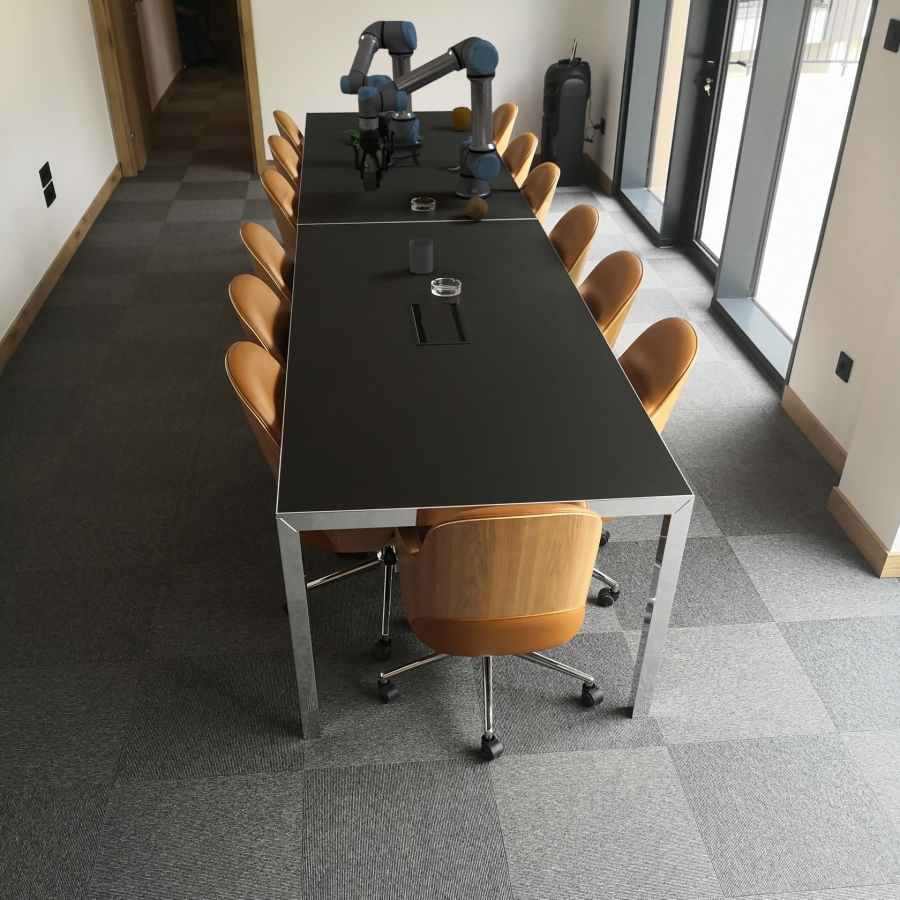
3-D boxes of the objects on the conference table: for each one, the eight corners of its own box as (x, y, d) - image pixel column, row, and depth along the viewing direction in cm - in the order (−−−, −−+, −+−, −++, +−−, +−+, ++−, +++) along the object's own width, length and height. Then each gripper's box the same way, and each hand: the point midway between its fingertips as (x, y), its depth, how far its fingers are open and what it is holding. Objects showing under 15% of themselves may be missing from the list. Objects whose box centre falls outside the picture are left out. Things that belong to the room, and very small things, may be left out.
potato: (486, 212, 363) (486, 193, 359) (489, 223, 352) (490, 203, 347) (463, 213, 363) (463, 194, 359) (465, 223, 351) (466, 204, 347)
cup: (409, 265, 311) (408, 238, 306) (432, 265, 312) (431, 238, 307) (410, 274, 304) (409, 246, 299) (433, 273, 305) (433, 246, 299)
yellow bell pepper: (471, 132, 486) (471, 108, 479) (451, 132, 486) (451, 108, 479) (470, 128, 495) (471, 104, 488) (452, 128, 495) (452, 104, 488)
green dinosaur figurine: (396, 126, 467) (340, 124, 465) (396, 141, 460) (339, 139, 458) (396, 136, 472) (341, 134, 470) (396, 151, 465) (340, 149, 463)
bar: (376, 169, 384) (375, 150, 380) (387, 169, 384) (387, 151, 379) (364, 191, 356) (363, 171, 352) (376, 191, 356) (375, 171, 351)
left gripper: (356, 116, 365) (359, 172, 378) (398, 117, 364) (400, 173, 377) (359, 112, 372) (362, 167, 384) (400, 113, 371) (402, 168, 383)
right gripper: (345, 130, 343) (348, 189, 356) (390, 131, 342) (392, 190, 355) (348, 126, 349) (351, 184, 362) (392, 126, 348) (394, 185, 361)
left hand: (381, 170), depth 381 cm, fingers closed on bar, 5 cm apart
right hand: (371, 187), depth 358 cm, fingers closed on bar, 5 cm apart
